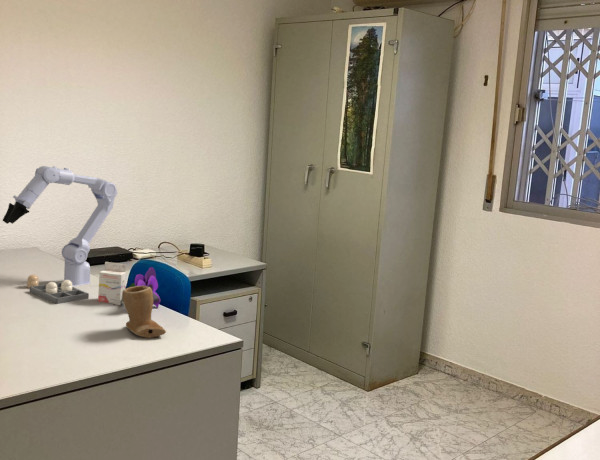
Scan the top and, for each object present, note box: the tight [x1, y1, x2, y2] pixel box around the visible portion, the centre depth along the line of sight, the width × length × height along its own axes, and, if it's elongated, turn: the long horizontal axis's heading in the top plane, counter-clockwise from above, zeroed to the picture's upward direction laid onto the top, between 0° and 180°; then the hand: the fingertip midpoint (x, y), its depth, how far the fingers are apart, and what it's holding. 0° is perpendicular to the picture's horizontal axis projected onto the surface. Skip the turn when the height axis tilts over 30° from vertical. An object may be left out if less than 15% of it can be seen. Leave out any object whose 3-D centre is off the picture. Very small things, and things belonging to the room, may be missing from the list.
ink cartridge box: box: [97, 261, 127, 306], centre depth 240 cm, size 9×5×15 cm, turn 84°
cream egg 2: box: [61, 279, 73, 292], centre depth 245 cm, size 4×4×6 cm
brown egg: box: [26, 274, 40, 290], centre depth 250 cm, size 4×4×6 cm
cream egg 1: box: [46, 281, 57, 294], centre depth 240 cm, size 4×4×6 cm
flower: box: [122, 266, 161, 309], centre depth 239 cm, size 15×15×14 cm
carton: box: [29, 281, 90, 305], centre depth 243 cm, size 13×19×2 cm
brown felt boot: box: [122, 286, 167, 339], centre depth 211 cm, size 15×12×15 cm
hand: (7, 222), depth 237 cm, fingers open, 7 cm apart
